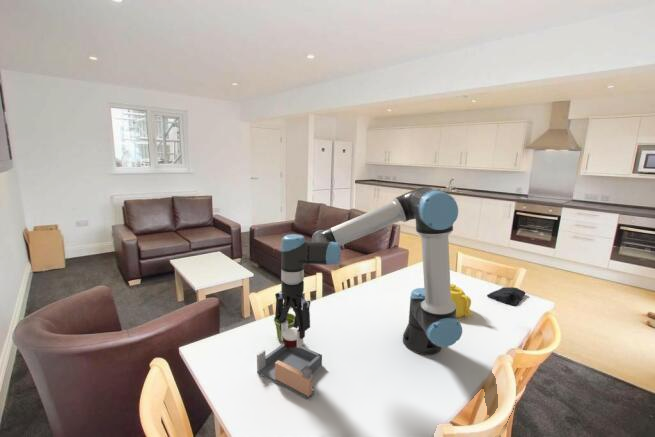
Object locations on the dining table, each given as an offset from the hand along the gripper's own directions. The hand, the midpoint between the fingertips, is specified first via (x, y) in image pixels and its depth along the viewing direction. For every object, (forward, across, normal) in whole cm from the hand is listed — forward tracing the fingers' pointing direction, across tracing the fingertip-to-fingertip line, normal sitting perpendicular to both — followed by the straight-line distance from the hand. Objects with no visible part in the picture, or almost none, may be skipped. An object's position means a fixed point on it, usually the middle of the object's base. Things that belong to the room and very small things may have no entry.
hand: (292, 342), depth 110 cm
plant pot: (+10, +14, -13) cm, 21 cm away
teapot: (+10, -36, -79) cm, 87 cm away
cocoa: (+1, 0, 0) cm, 1 cm away
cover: (+9, -7, +8) cm, 14 cm away
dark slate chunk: (+10, -61, -114) cm, 130 cm away
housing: (+10, -3, +1) cm, 10 cm away
